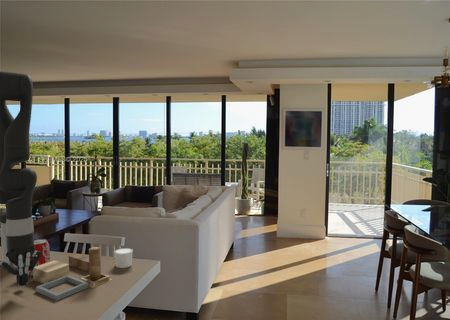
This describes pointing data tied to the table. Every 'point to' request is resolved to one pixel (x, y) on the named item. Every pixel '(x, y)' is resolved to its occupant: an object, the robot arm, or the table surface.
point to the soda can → (42, 247)
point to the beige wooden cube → (50, 271)
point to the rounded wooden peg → (94, 264)
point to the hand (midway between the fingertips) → (22, 285)
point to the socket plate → (98, 282)
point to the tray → (57, 296)
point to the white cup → (123, 257)
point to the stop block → (79, 262)
